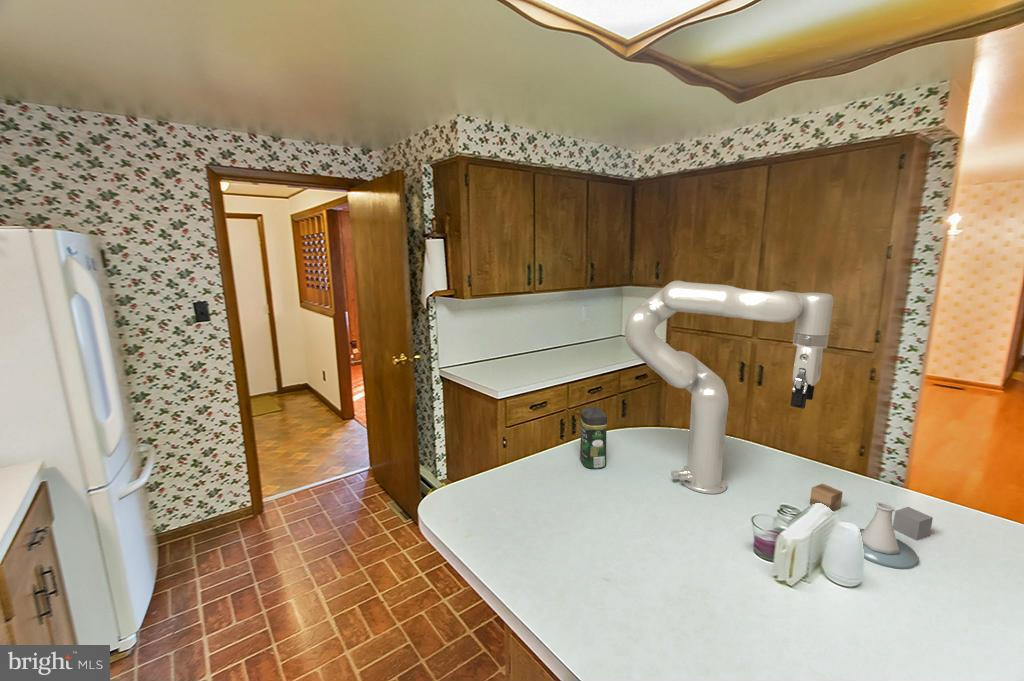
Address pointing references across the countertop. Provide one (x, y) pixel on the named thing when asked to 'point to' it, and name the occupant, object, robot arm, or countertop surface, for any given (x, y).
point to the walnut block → (826, 496)
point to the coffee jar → (593, 438)
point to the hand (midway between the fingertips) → (801, 402)
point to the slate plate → (893, 557)
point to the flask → (881, 531)
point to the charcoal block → (912, 523)
